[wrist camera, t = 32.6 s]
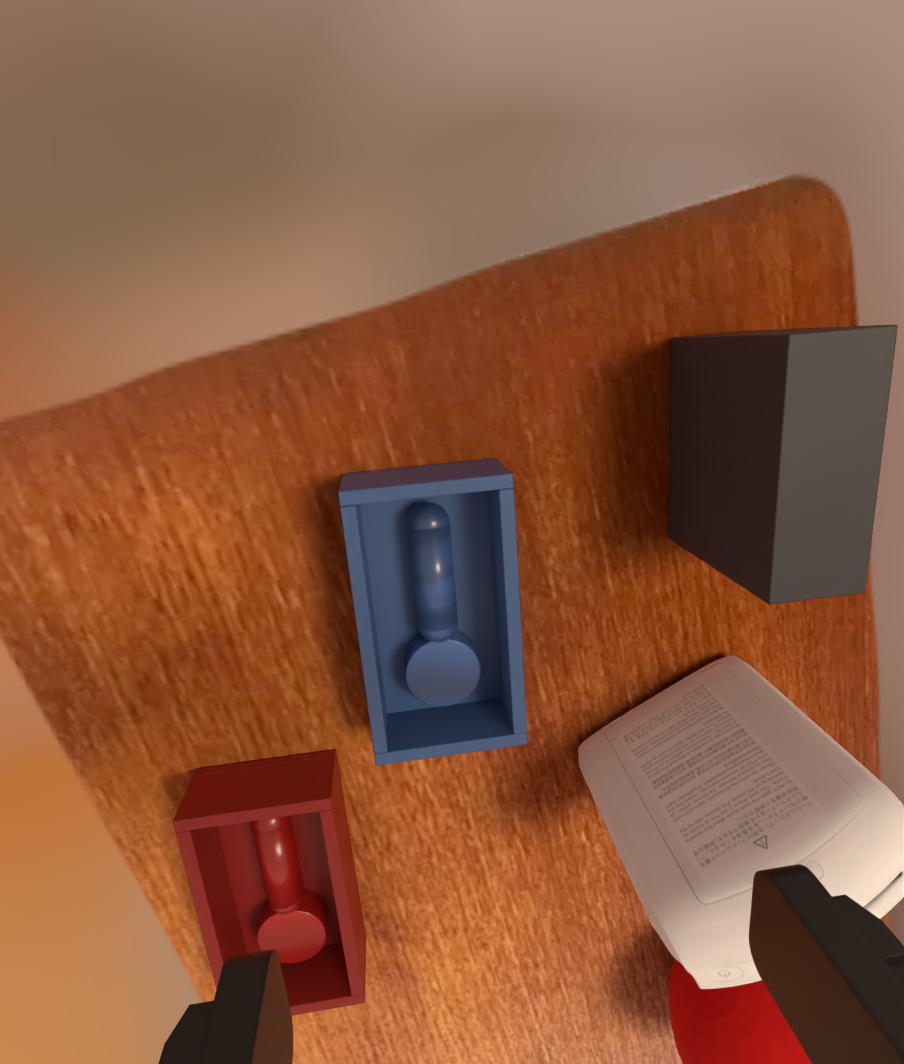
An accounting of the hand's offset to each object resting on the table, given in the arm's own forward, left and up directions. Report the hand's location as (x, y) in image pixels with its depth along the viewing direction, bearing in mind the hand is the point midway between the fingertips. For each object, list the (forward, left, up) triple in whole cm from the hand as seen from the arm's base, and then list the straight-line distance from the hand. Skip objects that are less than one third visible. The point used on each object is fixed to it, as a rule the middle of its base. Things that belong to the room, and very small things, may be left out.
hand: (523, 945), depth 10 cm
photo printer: (+10, +11, -19) cm, 24 cm away
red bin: (+15, -9, -19) cm, 26 cm away
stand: (-4, +13, -19) cm, 23 cm away
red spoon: (+15, -9, -18) cm, 25 cm away
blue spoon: (+1, 0, -18) cm, 18 cm away
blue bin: (+2, 0, -19) cm, 19 cm away
